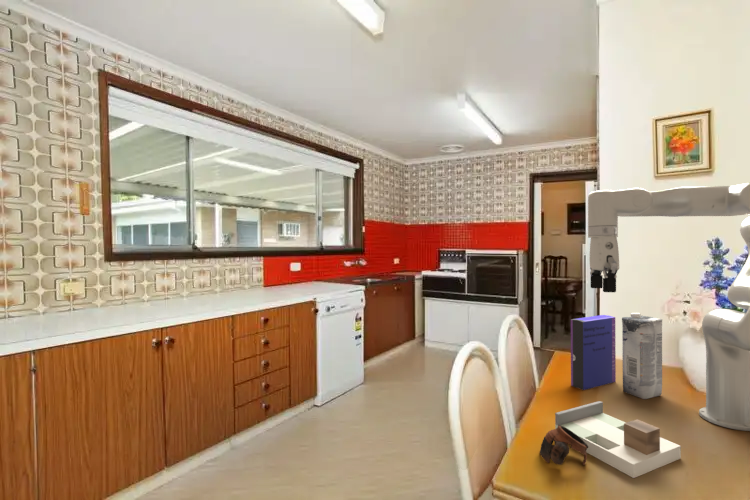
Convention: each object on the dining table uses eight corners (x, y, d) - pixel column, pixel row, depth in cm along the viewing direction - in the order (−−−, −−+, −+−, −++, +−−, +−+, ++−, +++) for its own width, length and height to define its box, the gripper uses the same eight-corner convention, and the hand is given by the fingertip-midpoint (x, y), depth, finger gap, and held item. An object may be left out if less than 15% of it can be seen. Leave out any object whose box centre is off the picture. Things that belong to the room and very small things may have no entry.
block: (637, 439, 91) (637, 419, 91) (659, 449, 86) (659, 428, 86) (623, 444, 89) (623, 423, 89) (646, 455, 84) (646, 433, 84)
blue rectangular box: (602, 377, 140) (602, 314, 140) (615, 382, 136) (615, 316, 136) (571, 385, 133) (570, 318, 133) (583, 390, 129) (583, 321, 128)
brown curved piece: (539, 446, 95) (556, 418, 94) (576, 474, 90) (594, 446, 89) (531, 456, 85) (550, 426, 84) (572, 489, 80) (593, 457, 79)
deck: (680, 458, 88) (680, 433, 88) (633, 478, 81) (633, 450, 81) (599, 421, 106) (599, 400, 106) (555, 435, 99) (555, 412, 99)
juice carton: (666, 396, 123) (666, 314, 122) (645, 401, 119) (645, 317, 119) (638, 386, 131) (638, 310, 131) (618, 391, 127) (618, 312, 127)
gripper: (630, 231, 101) (630, 294, 101) (605, 233, 118) (605, 286, 118) (599, 231, 103) (600, 293, 103) (579, 233, 120) (579, 286, 120)
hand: (602, 290), depth 111 cm, fingers open, 9 cm apart
